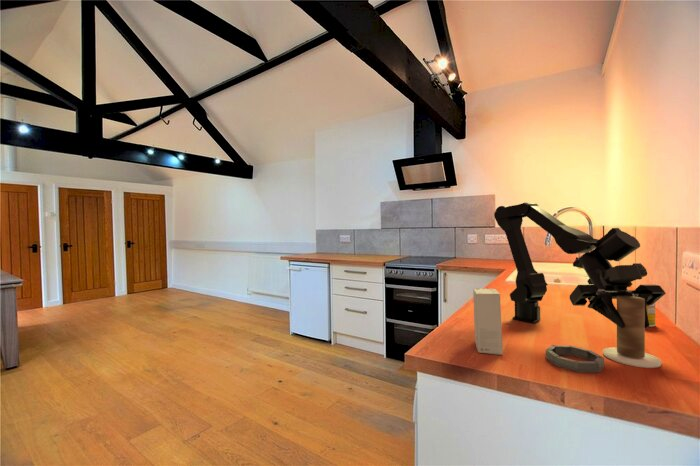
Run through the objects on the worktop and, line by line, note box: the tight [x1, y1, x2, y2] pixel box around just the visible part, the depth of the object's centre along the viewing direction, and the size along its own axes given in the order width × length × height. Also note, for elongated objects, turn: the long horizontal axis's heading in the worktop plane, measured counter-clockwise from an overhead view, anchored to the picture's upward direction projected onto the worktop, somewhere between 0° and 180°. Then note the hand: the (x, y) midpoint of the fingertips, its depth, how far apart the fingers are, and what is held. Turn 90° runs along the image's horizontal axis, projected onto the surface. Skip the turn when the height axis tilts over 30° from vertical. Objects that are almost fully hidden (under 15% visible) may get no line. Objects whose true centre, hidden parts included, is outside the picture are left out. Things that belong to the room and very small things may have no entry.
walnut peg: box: [616, 296, 646, 358], centre depth 72 cm, size 5×5×13 cm
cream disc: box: [602, 346, 662, 369], centre depth 72 cm, size 10×10×1 cm
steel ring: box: [545, 344, 605, 374], centre depth 70 cm, size 10×10×2 cm
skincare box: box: [472, 288, 504, 356], centre depth 79 cm, size 8×6×15 cm
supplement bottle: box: [646, 302, 656, 328], centre depth 96 cm, size 5×5×10 cm
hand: (635, 327), depth 70 cm, fingers closed on walnut peg, 5 cm apart
